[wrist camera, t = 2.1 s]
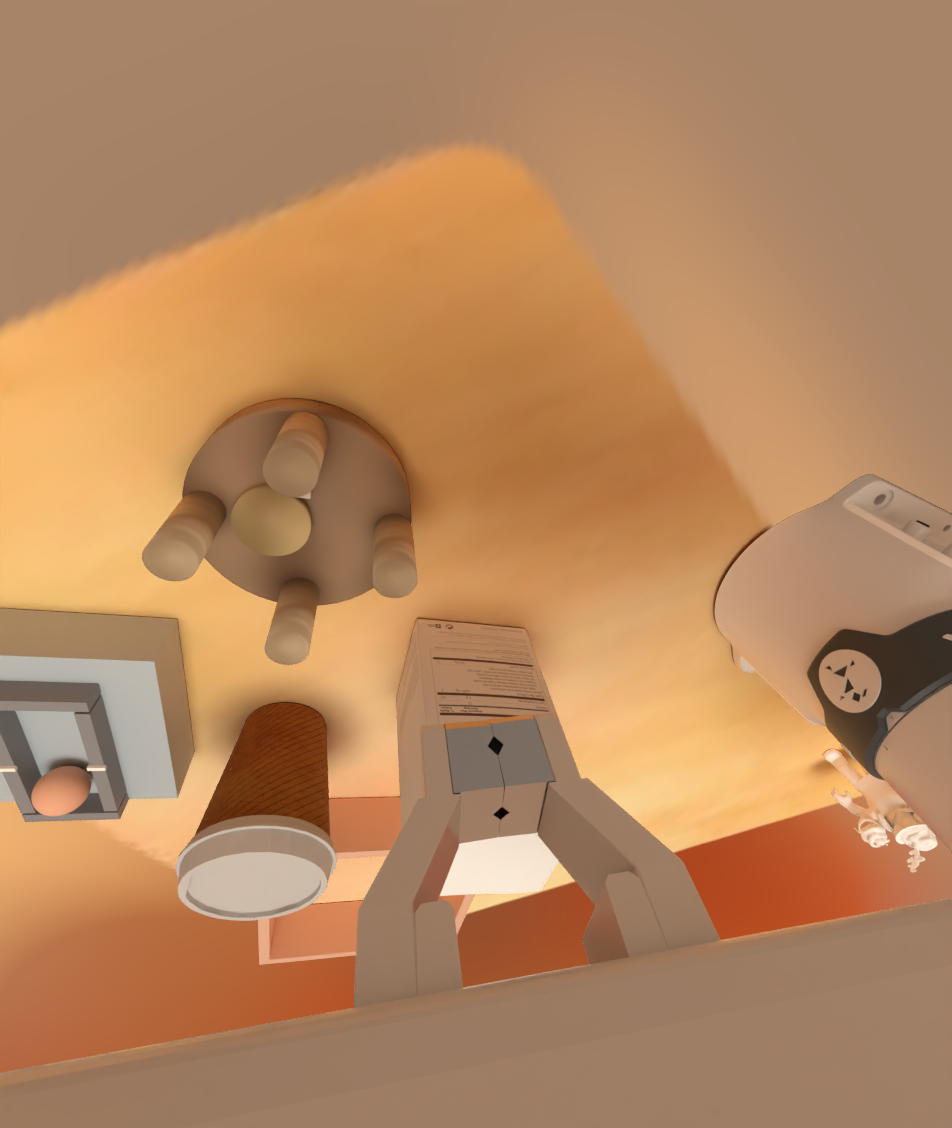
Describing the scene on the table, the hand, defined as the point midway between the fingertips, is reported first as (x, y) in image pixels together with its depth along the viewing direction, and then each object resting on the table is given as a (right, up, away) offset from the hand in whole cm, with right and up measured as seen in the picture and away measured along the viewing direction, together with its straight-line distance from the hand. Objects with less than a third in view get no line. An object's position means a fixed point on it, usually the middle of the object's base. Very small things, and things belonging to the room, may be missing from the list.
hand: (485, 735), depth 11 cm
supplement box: (-2, -4, +28) cm, 29 cm away
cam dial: (-10, +8, +19) cm, 23 cm away
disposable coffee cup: (-16, -9, +29) cm, 35 cm away
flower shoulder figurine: (+42, -17, +45) cm, 64 cm away
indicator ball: (-27, -11, +21) cm, 36 cm away
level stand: (-27, -5, +24) cm, 37 cm away
